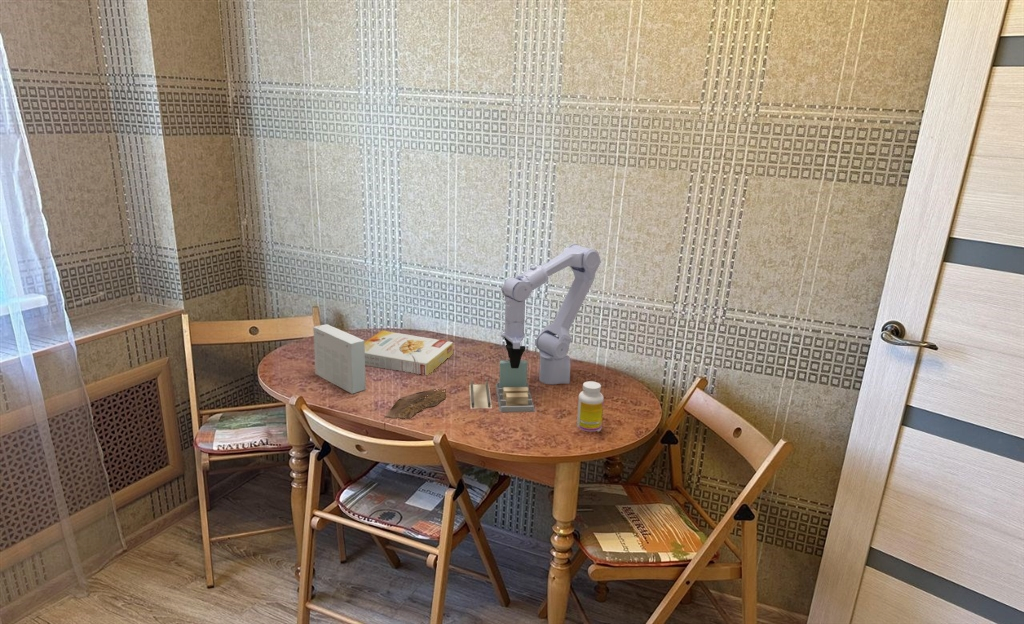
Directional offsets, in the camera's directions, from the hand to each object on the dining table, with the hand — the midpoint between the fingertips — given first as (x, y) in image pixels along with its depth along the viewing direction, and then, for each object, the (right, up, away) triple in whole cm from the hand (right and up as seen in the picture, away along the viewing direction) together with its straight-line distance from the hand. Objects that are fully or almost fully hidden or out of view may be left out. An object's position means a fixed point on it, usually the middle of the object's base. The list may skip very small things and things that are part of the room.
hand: (513, 362), depth 184 cm
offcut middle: (+1, -11, -5) cm, 12 cm away
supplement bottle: (+20, -16, -17) cm, 31 cm away
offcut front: (+1, -12, -9) cm, 15 cm away
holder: (-10, -10, -2) cm, 14 cm away
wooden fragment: (-27, -11, -4) cm, 30 cm away
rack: (0, -11, -2) cm, 11 cm away
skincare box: (-53, -7, +8) cm, 54 cm away
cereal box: (-37, -1, +27) cm, 46 cm away
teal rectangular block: (0, -8, +3) cm, 9 cm away
